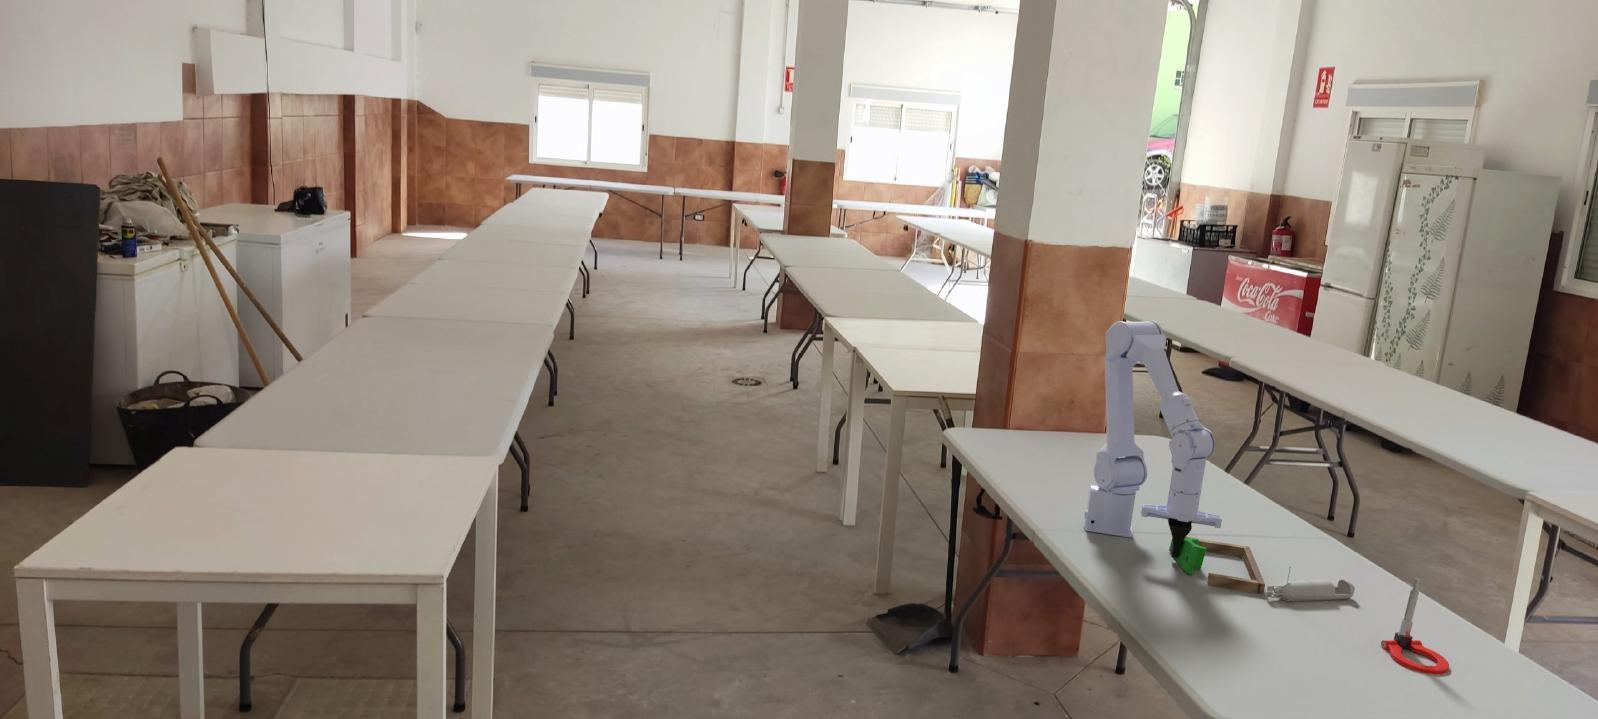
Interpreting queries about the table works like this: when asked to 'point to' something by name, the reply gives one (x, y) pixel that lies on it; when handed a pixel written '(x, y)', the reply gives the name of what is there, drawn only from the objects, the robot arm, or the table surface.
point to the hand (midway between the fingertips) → (1174, 556)
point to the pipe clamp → (1190, 554)
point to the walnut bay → (1230, 582)
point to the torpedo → (1311, 590)
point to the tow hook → (1413, 642)
